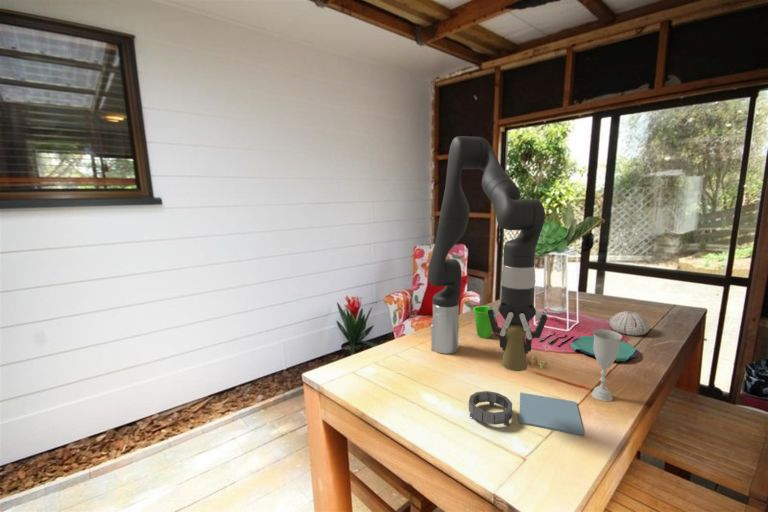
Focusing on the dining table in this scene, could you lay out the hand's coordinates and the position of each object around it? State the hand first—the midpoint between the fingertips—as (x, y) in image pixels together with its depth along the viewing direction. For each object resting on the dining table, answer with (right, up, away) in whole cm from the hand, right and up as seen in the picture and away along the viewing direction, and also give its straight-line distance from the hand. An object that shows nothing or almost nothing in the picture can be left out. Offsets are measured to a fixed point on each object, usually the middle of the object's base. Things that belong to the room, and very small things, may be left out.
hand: (515, 350), depth 88 cm
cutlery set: (+42, -10, +42) cm, 60 cm away
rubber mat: (+10, -17, +3) cm, 20 cm away
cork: (0, -4, +1) cm, 4 cm away
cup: (+8, -9, +54) cm, 55 cm away
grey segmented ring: (-5, -17, +3) cm, 18 cm away
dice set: (+18, -13, +30) cm, 38 cm away
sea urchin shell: (+66, -7, +55) cm, 87 cm away
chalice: (+28, -15, +10) cm, 33 cm away
